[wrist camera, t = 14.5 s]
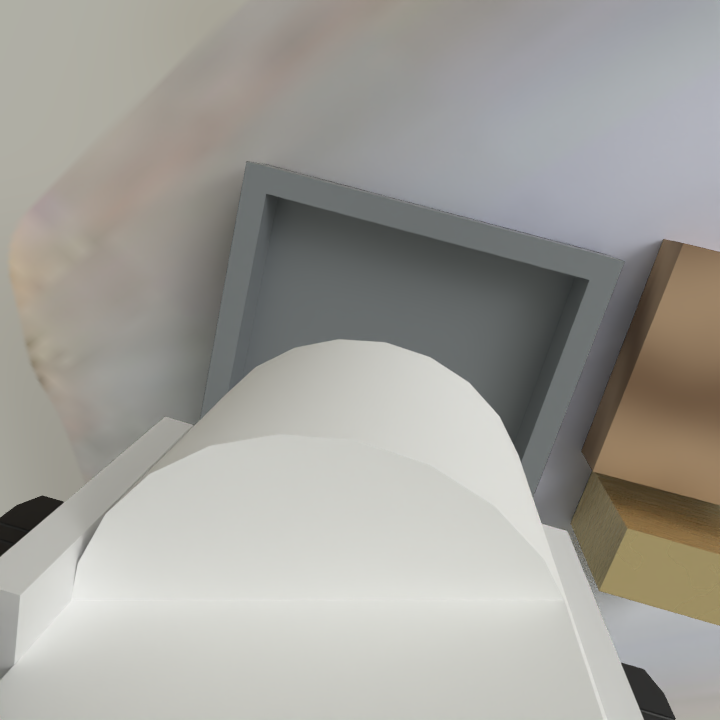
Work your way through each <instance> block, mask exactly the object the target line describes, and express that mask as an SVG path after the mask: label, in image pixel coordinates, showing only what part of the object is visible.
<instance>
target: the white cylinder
mask: <svg viewBox="0 0 720 720" xmlns="http://www.w3.org/2000/svg"><path fill="white" fill-rule="evenodd" d="M0 720H607V717H606V714H605V711H604V708H603V705H602V702H601V699H600V696H599V693H598V690H597V688H596V685H595V682H594V679H593V676H592V673H591V670H590V667H589V664H588V661H587V658H586V655H585V652H584V649H583V646H582V643H581V640H580V637H579V634H578V631H577V628H576V625H575V622H574V619H573V616H572V613H571V610H570V607H569V604H568V601H567V598H566V595H565V592H564V589H563V586H562V583H561V580H560V577H559V574H558V571H557V568H556V565H555V562H554V559H553V557H552V554H551V551H550V548H549V545H548V542H547V539H546V536H545V533H544V530H543V527H542V524H541V521H540V518H539V515H538V512H537V509H536V506H535V503H534V500H533V497H532V494H531V491H530V488H529V485H528V482H527V479H526V476H525V473H524V470H523V467H522V464H521V461H520V458H519V455H518V453H517V451H516V449H515V447H514V445H513V443H512V441H511V439H510V437H509V435H508V433H507V431H506V429H505V427H504V425H503V422H502V420H501V418H500V416H499V415H498V414H497V413H496V412H495V411H494V410H493V408H492V407H491V406H490V405H489V404H488V403H487V402H486V401H485V400H484V398H483V397H482V396H481V395H480V394H479V393H478V392H477V391H476V390H475V388H474V387H473V386H472V385H471V384H470V383H469V382H468V381H466V380H465V379H463V378H461V377H460V376H458V375H457V374H455V373H454V372H452V371H451V370H449V369H448V368H446V367H445V366H443V365H441V364H440V363H438V362H437V361H435V360H434V359H432V358H431V357H428V356H425V355H422V354H419V353H416V352H413V351H410V350H407V349H404V348H401V347H398V346H395V345H392V344H389V343H386V342H374V341H359V340H344V339H337V340H332V341H327V342H321V343H316V344H311V345H306V346H301V347H295V348H293V349H291V350H289V351H287V352H285V353H283V354H281V355H279V356H277V357H275V358H273V359H271V360H269V361H267V362H265V363H263V364H261V365H259V366H257V367H255V368H254V369H253V370H252V371H251V372H250V373H249V374H247V375H246V376H245V377H244V378H243V379H242V380H241V381H240V382H239V383H238V384H237V385H235V386H234V387H233V388H232V389H231V390H230V391H229V392H228V393H227V394H226V395H225V396H224V397H223V398H222V399H221V400H220V401H219V402H218V403H217V404H216V405H215V406H214V407H213V408H212V409H211V410H210V411H209V412H208V413H207V414H206V415H205V416H204V417H203V418H202V419H201V420H200V421H199V422H198V423H197V424H195V425H194V426H193V427H192V428H191V429H190V430H189V431H188V432H187V433H186V434H185V435H184V436H183V437H182V438H181V439H180V440H179V441H178V442H177V443H176V444H175V445H174V446H173V447H172V448H171V449H170V450H169V451H168V452H167V453H166V454H165V455H164V456H163V457H162V458H161V459H160V460H159V461H158V462H157V463H156V464H155V465H154V466H153V467H152V468H151V469H150V470H149V471H148V472H147V473H146V474H145V475H144V476H143V477H142V478H141V479H140V480H139V481H138V482H137V483H136V484H135V485H134V486H133V487H132V488H131V489H130V490H129V491H128V492H127V493H126V494H125V495H124V496H123V497H122V498H121V499H120V500H119V501H118V502H117V503H116V504H115V505H114V506H113V507H112V508H111V509H110V510H109V511H108V512H107V513H106V514H105V516H104V517H103V519H102V521H101V523H100V524H99V526H98V528H97V530H96V532H95V533H94V535H93V537H92V539H91V541H90V542H89V544H88V546H87V548H86V549H85V551H84V553H83V555H82V557H81V558H80V560H79V562H78V565H77V570H76V575H75V581H74V586H73V592H72V600H71V601H70V602H69V603H68V605H67V606H66V607H65V608H64V609H63V610H62V611H61V613H60V614H59V615H58V616H57V617H56V618H55V619H54V621H53V622H52V623H51V624H50V625H49V626H48V627H47V629H46V630H45V631H44V632H43V633H42V634H41V635H40V637H39V638H38V639H37V640H36V641H35V642H34V643H33V645H32V646H31V647H30V648H29V649H28V650H27V651H26V653H25V654H24V655H23V656H22V657H21V658H20V659H19V661H18V662H17V663H16V664H15V665H14V666H13V667H12V668H11V669H10V670H9V671H8V672H7V673H6V674H5V676H4V677H3V678H2V679H1V680H0Z"/></svg>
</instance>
